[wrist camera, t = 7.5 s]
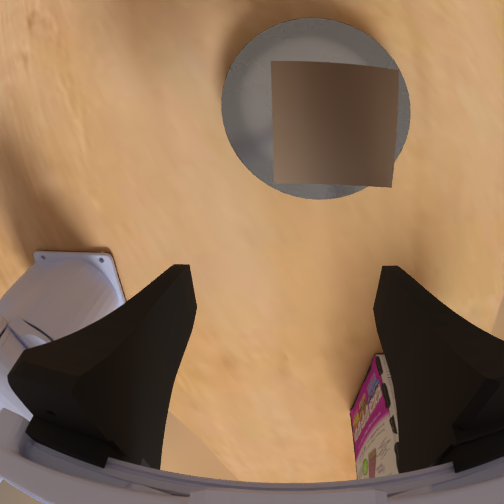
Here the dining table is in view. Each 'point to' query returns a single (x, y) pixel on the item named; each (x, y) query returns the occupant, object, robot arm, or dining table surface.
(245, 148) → the biscuit tin
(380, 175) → the walnut block
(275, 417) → the dining table surface
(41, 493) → the robot arm
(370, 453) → the candy bar box
